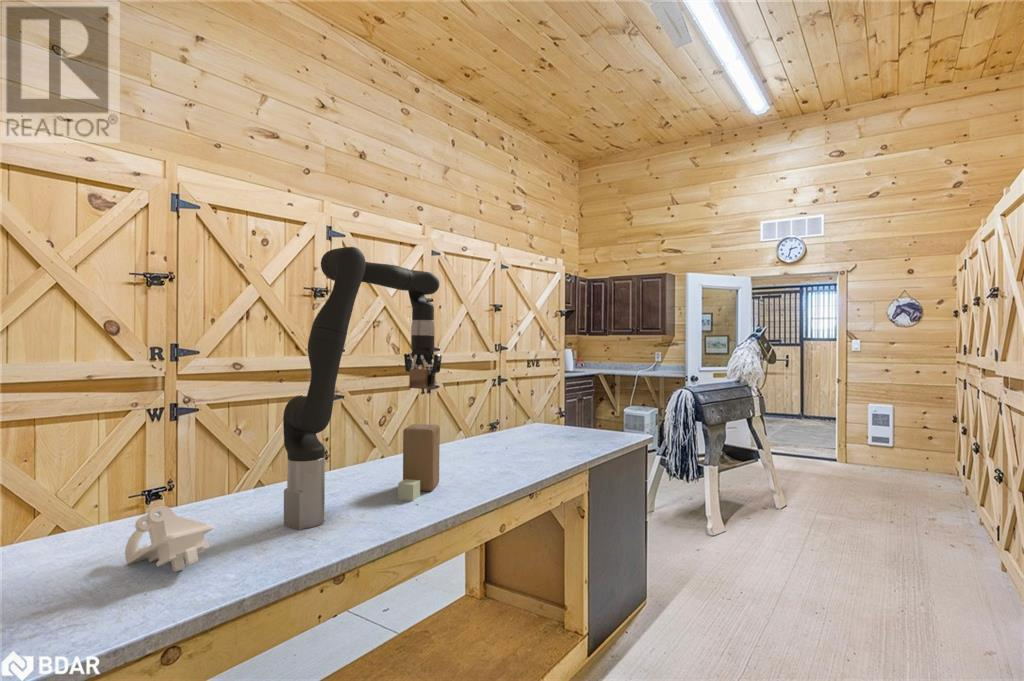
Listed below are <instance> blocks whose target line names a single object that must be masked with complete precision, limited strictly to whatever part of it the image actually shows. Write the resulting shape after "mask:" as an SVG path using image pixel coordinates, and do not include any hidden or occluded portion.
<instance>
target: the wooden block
mask: <svg viewBox="0 0 1024 681" xmlns="http://www.w3.org/2000/svg"><path fill="white" fill-rule="evenodd" d="M440 433H441V432H440V425H438V424H427V423H426V424H423V423H422V424H421V423H420V424H419V423H412V424H410V425H409V426H407V427H405V428H404V429H403V431H402V481H403V480H405V479H409V480H420V492H433V490H435V488H436V487H437V486H438V485H439V484H440V445H441V444H440V441H441V440H440Z"/></svg>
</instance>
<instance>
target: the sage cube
mask: <svg viewBox="0 0 1024 681" xmlns="http://www.w3.org/2000/svg"><path fill="white" fill-rule="evenodd" d="M420 497H421V491H420V480H409V479H405V480H403V479H402V480H401V481H400V482H398V483H397V500H398V501H408V502H413V501H415V500H417V499H418V498H420Z"/></svg>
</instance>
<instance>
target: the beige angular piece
mask: <svg viewBox="0 0 1024 681" xmlns="http://www.w3.org/2000/svg"><path fill="white" fill-rule="evenodd" d="M144 522H145V523H144ZM134 526H135V529H136V530H135V531H134V532H133V533H131V535H130V536H129V538H128V539H127V542H126V545H125V549H124V556H125V562H126V565H127V566H129V565H131V564H134V563H138V562H141V561H145V560H148V562H149V563H151V562H155V561H157V560H158V561H157V562H156V564H155V565H156V567H157V568H158V567H161V566H163V565H165V564H167V563H169V562H171V568H172V571H174V572H176V573H177V572H180V571H182V570H184V569H185V567H186V566H185V563H186V565H188V566H189V565H191V564H195V563H197V562H198V560H199V554H200V553H202V552H203V551H205V550H207V549H208V548H210V543H208V542H206V538H205V535H206V534H208V533H209V532H211V531H212V530H214V529H215V528H214V527H215V526H214V525H213V524H206V522H201V521H198V520H194V519H190V518H186V517H182V516H179V515H177V514H175V513H174V511H173V510H172V508H170V507H169V506H166V505H159V506H155V507H154V508H152V509H150V510H149V511H148V512H147V514H145V515H142V516H141V517H139V519H137V520H136V521H135V524H134ZM146 532H148V533H149V538H150V544H149V545H148V546H144V547H141V548H139V544H140V540H141V538H142V536H143V534H145V533H146ZM184 559H185V560H184Z"/></svg>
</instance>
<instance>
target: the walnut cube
mask: <svg viewBox="0 0 1024 681" xmlns="http://www.w3.org/2000/svg"><path fill="white" fill-rule="evenodd" d="M427 371H428V370H427V369H426V368H419V369H409V372H408V374H409V377H408V378H409V379H408V380H409V381H408V382H409V386H408V388H410V389H422V390H426V389H434V388H436V374H437V373H436V374H435V375H434V384H433V386H428V375H429V374H428V372H427Z"/></svg>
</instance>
